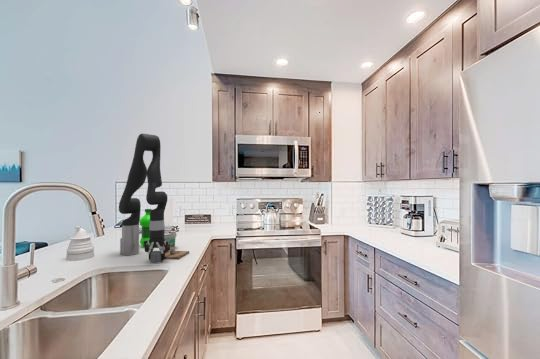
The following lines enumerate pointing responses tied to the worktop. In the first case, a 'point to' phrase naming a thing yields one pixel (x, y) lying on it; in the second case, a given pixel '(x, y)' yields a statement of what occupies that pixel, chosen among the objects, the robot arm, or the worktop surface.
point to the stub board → (175, 254)
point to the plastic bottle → (145, 227)
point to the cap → (155, 257)
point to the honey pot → (80, 246)
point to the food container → (170, 239)
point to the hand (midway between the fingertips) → (156, 260)
